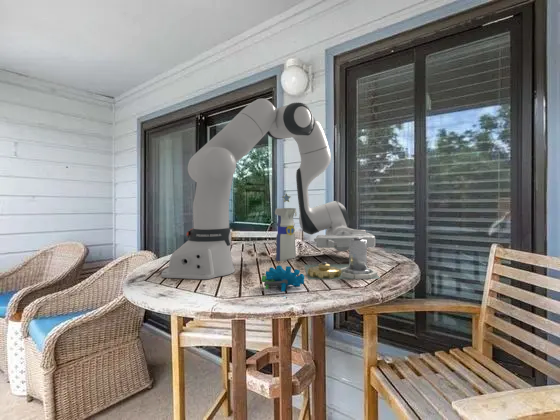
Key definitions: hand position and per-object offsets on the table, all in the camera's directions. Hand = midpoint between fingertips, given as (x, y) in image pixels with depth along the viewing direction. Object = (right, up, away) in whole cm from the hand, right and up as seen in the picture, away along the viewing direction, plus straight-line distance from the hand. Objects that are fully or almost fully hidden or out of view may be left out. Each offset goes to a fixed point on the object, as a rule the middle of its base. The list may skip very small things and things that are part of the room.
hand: (349, 244), depth 108 cm
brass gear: (-10, -8, -12) cm, 17 cm away
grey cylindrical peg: (0, -7, -12) cm, 14 cm away
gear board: (-5, -8, -7) cm, 12 cm away
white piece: (-20, -8, +17) cm, 27 cm away
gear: (-22, -10, -25) cm, 34 cm away
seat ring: (0, -7, -12) cm, 14 cm away
